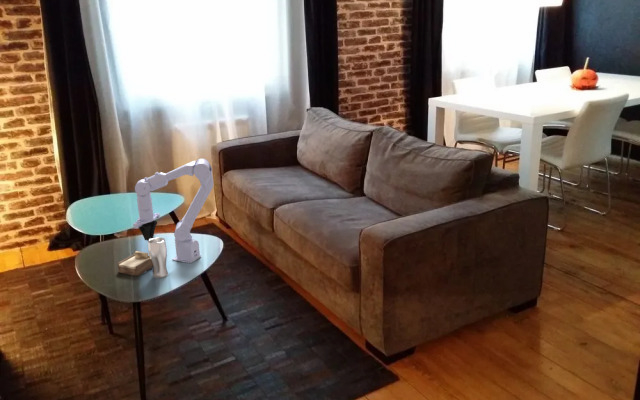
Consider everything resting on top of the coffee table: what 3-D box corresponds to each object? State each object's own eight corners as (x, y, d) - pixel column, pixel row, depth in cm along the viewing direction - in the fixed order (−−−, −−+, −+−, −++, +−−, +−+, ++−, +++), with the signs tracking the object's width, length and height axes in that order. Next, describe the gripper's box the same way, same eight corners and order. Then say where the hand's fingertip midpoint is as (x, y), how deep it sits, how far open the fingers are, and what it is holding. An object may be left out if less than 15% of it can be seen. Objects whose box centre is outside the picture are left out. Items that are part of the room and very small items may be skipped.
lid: (151, 259, 251) (150, 253, 250) (134, 269, 242) (133, 262, 242) (135, 257, 254) (134, 250, 253) (119, 266, 246) (118, 259, 245)
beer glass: (160, 280, 239) (156, 244, 235) (147, 276, 243) (143, 241, 238) (172, 273, 245) (169, 239, 240) (160, 270, 248) (156, 236, 244)
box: (155, 265, 253) (154, 256, 252) (138, 276, 243) (137, 266, 242) (136, 262, 257) (135, 253, 256) (118, 272, 247) (117, 263, 246)
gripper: (149, 202, 259) (152, 232, 263) (125, 212, 246) (129, 243, 250) (162, 204, 256) (165, 234, 260) (139, 214, 243) (143, 246, 247)
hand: (149, 239), depth 255 cm, fingers closed
